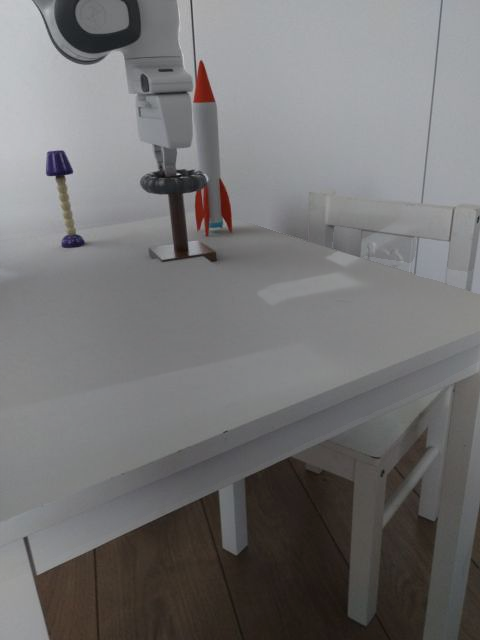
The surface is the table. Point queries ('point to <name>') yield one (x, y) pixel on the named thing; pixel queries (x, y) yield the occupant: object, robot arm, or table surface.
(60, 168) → the toy lamp
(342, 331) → the table surface
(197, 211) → the toy rocket
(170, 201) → the stand
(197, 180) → the ring
